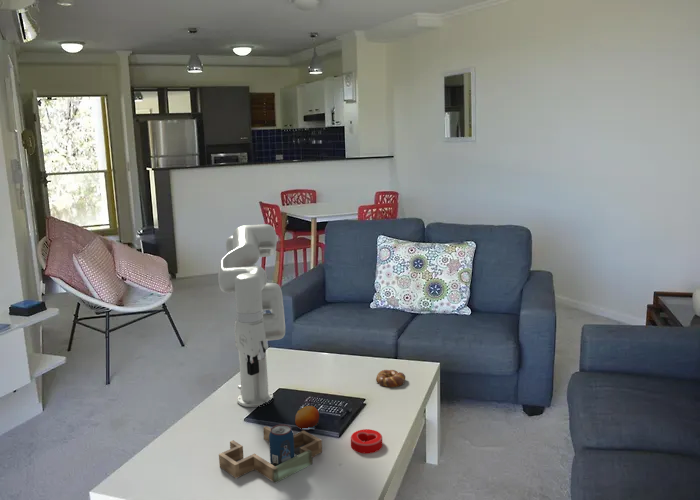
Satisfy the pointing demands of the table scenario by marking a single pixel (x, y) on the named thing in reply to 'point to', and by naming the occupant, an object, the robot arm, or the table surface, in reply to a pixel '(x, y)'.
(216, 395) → the table surface
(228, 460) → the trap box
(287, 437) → the soda can
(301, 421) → the fruit
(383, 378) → the pretzel
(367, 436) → the decorative ornament
